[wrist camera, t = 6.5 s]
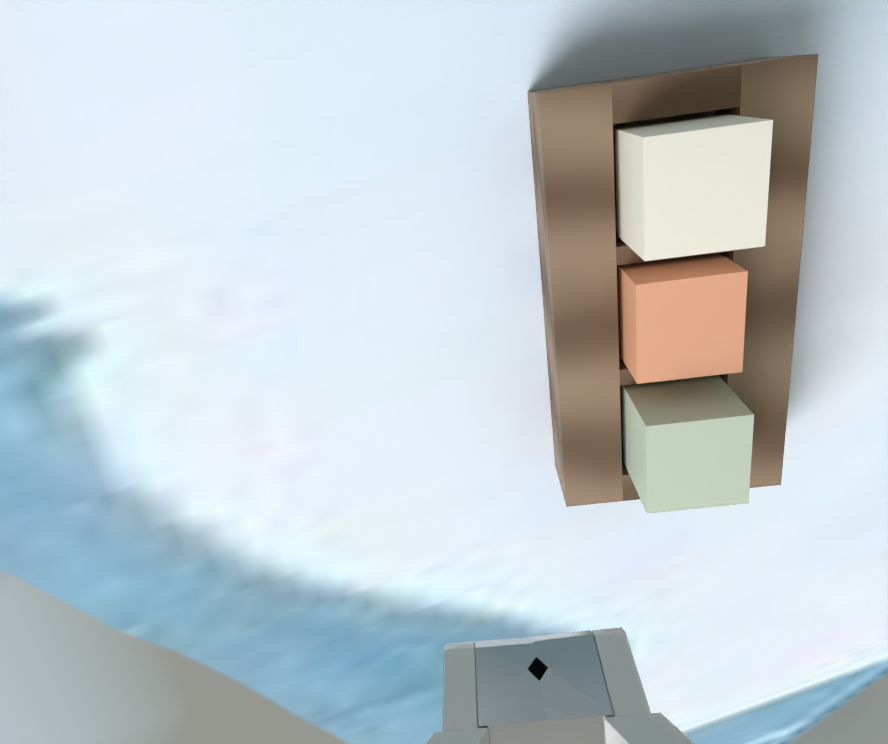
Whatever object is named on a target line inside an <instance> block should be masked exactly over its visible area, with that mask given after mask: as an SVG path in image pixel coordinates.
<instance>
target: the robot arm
mask: <svg viewBox="0 0 888 744" xmlns="http://www.w3.org/2000/svg"><path fill="white" fill-rule="evenodd" d="M426 744H695V743H694V742H693V741H691V740H690V739H689V738H688V737H687V736H686V735H685V734H684V733H682V732H681V731H680V730H679V729H678V728H677V727H676V726H675V725H673V724H672V723H671V722H670V721H669V720H668V719H667V718H666V717H665V716H663V715H662V714H661V713H651V712H650V709H649V706H648V702H647V699H646V696H645V693H644V690H643V686H642V683H641V680H640V677H639V674H638V671H637V667H636V664H635V661H634V658H633V655H632V651H631V648H630V645H629V642H628V639H627V636H626V632H625V631H624V630H623V629H622V628H613V629H603V630H593V631H592V632H591V631H581V632H572V633H562V634H553V635H543V636H534V637H530V638H516V639H501V640H486V641H475V642H464V643H450V644H445V648H444V655H443V731H439V732H433V734H432V735H431V737H430V738H429V740H428V741H427V743H426Z"/></svg>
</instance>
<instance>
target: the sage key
mask: <svg viewBox="0 0 888 744" xmlns="http://www.w3.org/2000/svg"><path fill="white" fill-rule="evenodd" d="M621 393H622V431H623V462H624V464H625V466H626V468H627V470H628V473H629V475H630V477H631V479H632V482H633V484H634V486H635V488H636V490H637V493H638V495H639V497H640V499H641V501H642V504H643V506H644V508H645V510H646V512H647V513H657V512H667V511H677V510H687V509H697V508H706V507H716V506H726V505H736V504H746V503H749V488H750V472H751V456H752V441H753V425H754V414H753V413H752V412H751V411H750V409H749V408H748V407H747V406H746V405H745V404H744V403H743V402H742V401H741V400H740V398H739V397H738V396H737V395H736V394H735V393H734V392H733V391H732V390H731V388H730V387H729V386H728V385H727V384H726V383H725V382H724V381H723V380H722V379H721V377H720V376H719V375H712V376H703V377H695V378H686V379H677V380H668V381H659V382H650V383H641V384H630V385H621Z"/></svg>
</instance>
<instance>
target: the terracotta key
mask: <svg viewBox="0 0 888 744" xmlns="http://www.w3.org/2000/svg"><path fill="white" fill-rule="evenodd" d="M747 279H748V271H747V270H745V269H744V268H742V267H741V266H739V265H738V264H736V263H734V262H733V261H731V260H730V259H728V258H727V257H725V256H724V255H722V254H720V253H713V254H705V255H697V256H689V257H681V258H673V259H665V260H657V261H649V262H641V263H633V264H625V265H617V300H618V337H619V355H620V357H621V358H622V360H623V362H624V363H625V365H626V366H627V368H628V370H629V371H630V373H631V375H632V376H633V378H634V380H635V381H636V383H637V384H641V383H650V382H659V381H668V380H677V379H686V378H695V377H703V376H712V375H721V374H730V373H739V372H742V370H743V352H744V334H745V316H746V297H747Z"/></svg>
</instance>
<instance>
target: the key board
mask: <svg viewBox="0 0 888 744" xmlns="http://www.w3.org/2000/svg"><path fill="white" fill-rule="evenodd" d="M817 62H818V54H812V55H798V56H784V57H771V58H764V59H757V60H750V61H743V62H736V63H729V64H721V65H714V66H707V67H700V68H693V69H686V70H679V71H672V72H665V73H658V74H651V75H644V76H637V77H630V78H622V79H615V80H608V81H601V82H594V83H587V84H580V85H573V86H566V87H559V88H552V89H545V90H538V91H531V92H528V104H529V117H530V131H531V144H532V158H533V171H534V184H535V198H536V211H537V225H538V238H539V252H540V265H541V279H542V292H543V306H544V319H545V333H546V346H547V360H548V373H549V387H550V400H551V414H552V427H553V441H554V454H555V466H556V469H557V473H558V477H559V480H560V484H561V488H562V491H563V495H564V499H565V503H566V506H567V507H568V506H578V505H587V504H597V503H607V502H617V501H626V500H636V499H640V497H639V495H638V493H637V490H636V488H635V486H634V484H633V482H632V479H631V477H630V475H629V473H628V470H627V468H626V466H625V464H624V462H623V431H622V393H621V385H630V384H637V383H636V381H635V380H634V378H633V376H632V375H631V373H630V371H629V370H628V368H627V366H626V365H625V363H624V362H623V360H622V358H621V357H620V355H619V337H618V300H617V265H625V264H633V263H641V262H649V261H644V260H643V259H642V258H641V257H639V256H638V255H637V254H636V253H635V252H634V251H633V250H632V249H631V248H630V247H629V246H628V245H627V244H626V243H624V242H623V241H622V240H621V239H620V238H619V237H618V236H617V201H616V162H615V129H618V128H625V127H633V126H640V125H647V124H654V123H662V122H669V121H676V120H684V119H691V118H698V117H706V116H713V115H720V114H729V115H737V116H746V117H754V118H762V119H770V120H773V130H772V145H771V161H770V176H769V192H768V207H767V223H766V239H765V246H763V247H755V248H747V249H739V250H731V251H723V252H715V253H720V254H722V255H724V256H725V257H727V258H728V259H730V260H731V261H733V262H734V263H736V264H738V265H739V266H741V267H742V268H744V269H745V270H747V271H748V279H747V297H746V316H745V334H744V352H743V370H742V372H739V373H730V374H721V375H719V376H720V377H721V379H722V380H723V381H724V382H725V383H726V384H727V385H728V386H729V387H730V388H731V390H732V391H733V392H734V393H735V394H736V395H737V396H738V397H739V398H740V400H741V401H742V402H743V403H744V404H745V405H746V406H747V407H748V408H749V409H750V411H751V412H752V413H753V414H754V425H753V441H752V456H751V472H750V488H753V487H763V486H773V485H781V477H782V466H783V454H784V443H785V431H786V420H787V408H788V397H789V385H790V373H791V362H792V350H793V339H794V327H795V316H796V304H797V293H798V281H799V270H800V258H801V247H802V235H803V223H804V212H805V200H806V189H807V177H808V166H809V154H810V143H811V131H812V120H813V108H814V96H815V85H816V73H817ZM707 254H713V253H707ZM699 255H705V254H699ZM691 256H697V255H691ZM683 257H689V256H683ZM675 258H681V257H675ZM667 259H673V258H667ZM659 260H665V259H659ZM651 261H657V260H651Z"/></svg>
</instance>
